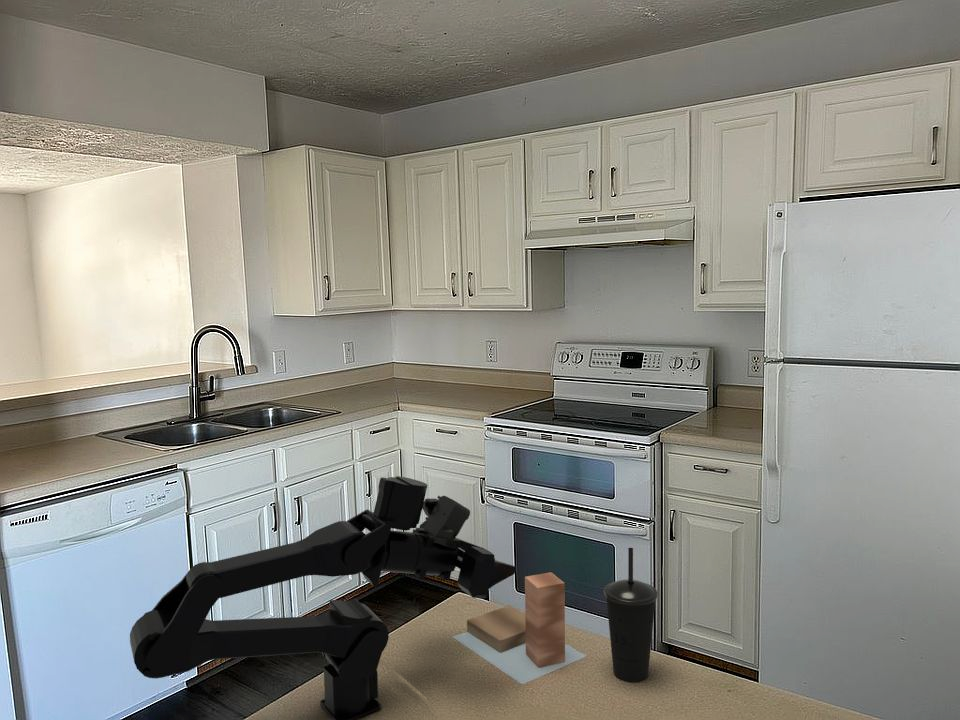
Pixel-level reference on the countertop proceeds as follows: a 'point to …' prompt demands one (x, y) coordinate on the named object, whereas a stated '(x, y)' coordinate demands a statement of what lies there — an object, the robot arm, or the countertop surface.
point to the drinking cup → (630, 625)
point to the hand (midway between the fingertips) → (498, 560)
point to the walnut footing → (499, 628)
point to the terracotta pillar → (545, 619)
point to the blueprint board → (515, 658)
